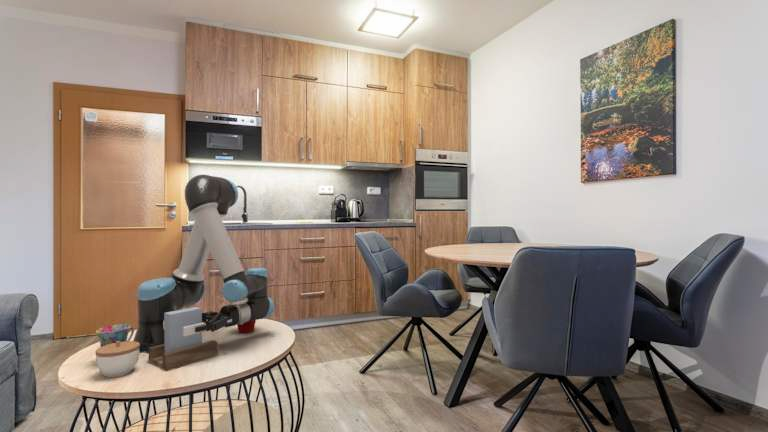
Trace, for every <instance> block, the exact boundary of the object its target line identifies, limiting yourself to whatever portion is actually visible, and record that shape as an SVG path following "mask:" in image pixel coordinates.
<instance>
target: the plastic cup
mask: <svg viewBox="0 0 768 432" xmlns="http://www.w3.org/2000/svg"><path fill="white" fill-rule="evenodd" d="M246 301H247V300H241V301H236V302H233V304H236V303H241V302H246ZM256 322H257V320H253V321H249V322H245V323H243V325H241V324H236V326H237V332H238V334H242V335H243V334H246V335H247V334H251V333H254V331H255V327H256V326H255V325H256Z"/></svg>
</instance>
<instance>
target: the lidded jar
mask: <svg viewBox="0 0 768 432" xmlns="http://www.w3.org/2000/svg"><path fill="white" fill-rule="evenodd" d="M139 347H140V343H139V342H135V341H133V340H130V341H125V342H120V341H116V343H112V344H108V345H105V346H102V347H101V346H100V347H98V348H96V349H95V362H96V366H97V369H98V370H99V372H100V373H101V374H103V375H105V377H106V378H118V377H122V376H125V375H128V374H130V372H131V371H132V370H133V369H134V368H135V366H136V364H137V363H138V360H139V357H140V352H139Z"/></svg>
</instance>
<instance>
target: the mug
mask: <svg viewBox="0 0 768 432" xmlns="http://www.w3.org/2000/svg"><path fill="white" fill-rule="evenodd" d="M130 330H131V333H130ZM134 332H135V329H134V328H133V326H132V325H130V324H127V323H125V324H122V323H121V324H114V325H108V326H103V327H100V328H98V329H96V330H95V334H96V335H97V337H98V340H99V344H100V347H102V346H105V345H108V344H112V343H116V341H120V342H125V341H131V339H132V338H133V335H134ZM129 333H130V335H129ZM128 336H129V337H128Z"/></svg>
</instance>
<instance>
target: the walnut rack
mask: <svg viewBox="0 0 768 432" xmlns="http://www.w3.org/2000/svg"><path fill="white" fill-rule="evenodd" d="M216 356H219V351H218V341H217V340H214V339H213V340H209V341H206V342H202V343H201V344H198V345H194V346H190V347H187V348H183V349H179V350H176V351H172V352H168V353H165V344H162V345H158V346H154V347H150V348H149V352H148V357H147V358H148V359H147V361H148V363H150V364H152V365H153V366H156V367H158V368H160V369H161V370H163V371H166V372H168V371H169V372H170V371H171V370H174V369H178V368H181V367H185V366H188V365H191V364H194V363H198V362H200V361H204V360H207V359H211V358H215V357H216Z"/></svg>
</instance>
